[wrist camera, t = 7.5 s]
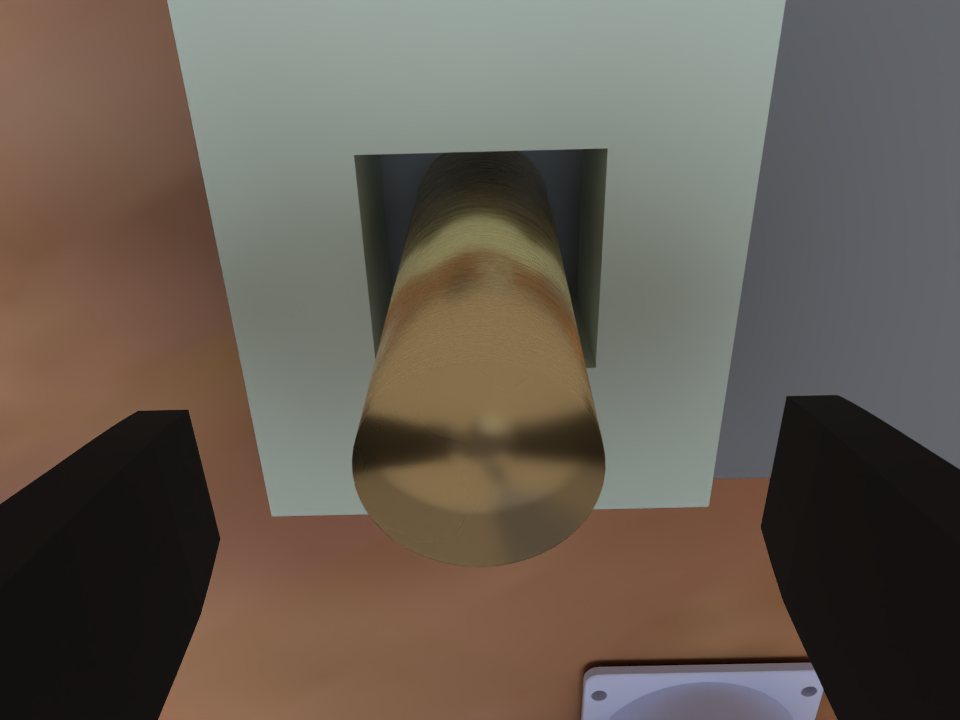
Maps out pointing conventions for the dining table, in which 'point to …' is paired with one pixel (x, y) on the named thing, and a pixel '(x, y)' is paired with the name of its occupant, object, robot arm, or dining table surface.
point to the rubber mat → (825, 227)
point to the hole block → (481, 128)
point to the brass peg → (480, 376)
